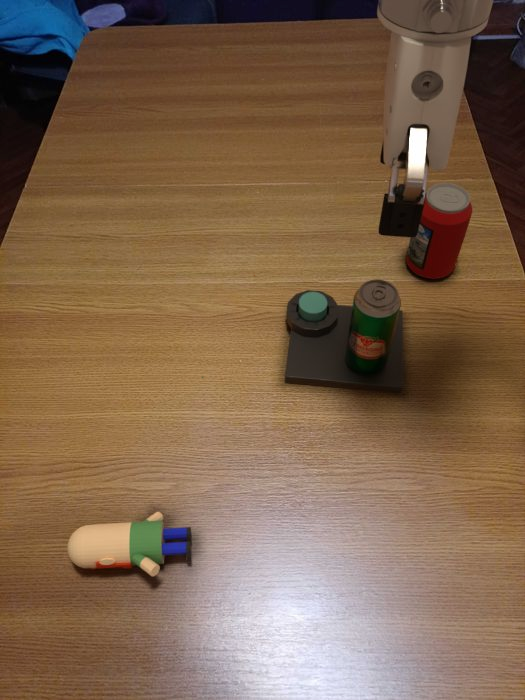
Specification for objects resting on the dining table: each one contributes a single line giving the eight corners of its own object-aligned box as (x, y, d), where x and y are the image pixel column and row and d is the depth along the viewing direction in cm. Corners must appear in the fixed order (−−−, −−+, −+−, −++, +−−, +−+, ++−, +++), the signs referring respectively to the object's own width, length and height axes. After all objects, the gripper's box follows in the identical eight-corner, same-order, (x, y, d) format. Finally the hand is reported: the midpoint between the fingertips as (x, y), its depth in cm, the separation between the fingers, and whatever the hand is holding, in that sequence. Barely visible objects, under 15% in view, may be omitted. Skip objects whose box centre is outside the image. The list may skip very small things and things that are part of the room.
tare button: (327, 301, 79) (328, 292, 78) (325, 323, 77) (326, 314, 75) (299, 299, 79) (300, 290, 78) (297, 321, 77) (297, 312, 76)
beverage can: (406, 245, 88) (422, 176, 79) (454, 251, 88) (476, 182, 78) (403, 279, 85) (419, 211, 75) (453, 285, 84) (476, 217, 74)
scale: (400, 312, 81) (404, 297, 79) (401, 393, 73) (405, 379, 71) (289, 303, 82) (289, 288, 80) (278, 382, 75) (278, 368, 72)
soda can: (339, 370, 74) (348, 304, 64) (351, 339, 77) (362, 271, 67) (380, 382, 73) (396, 317, 63) (391, 350, 76) (407, 283, 66)
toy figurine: (192, 529, 66) (78, 535, 65) (190, 496, 64) (72, 503, 63) (191, 590, 59) (63, 599, 58) (188, 555, 57) (56, 564, 56)
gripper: (507, 62, 36) (444, 269, 49) (482, -58, 46) (436, 141, 60) (377, 56, 36) (350, 262, 50) (381, -61, 47) (358, 137, 60)
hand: (397, 196), depth 55 cm, fingers open, 9 cm apart
